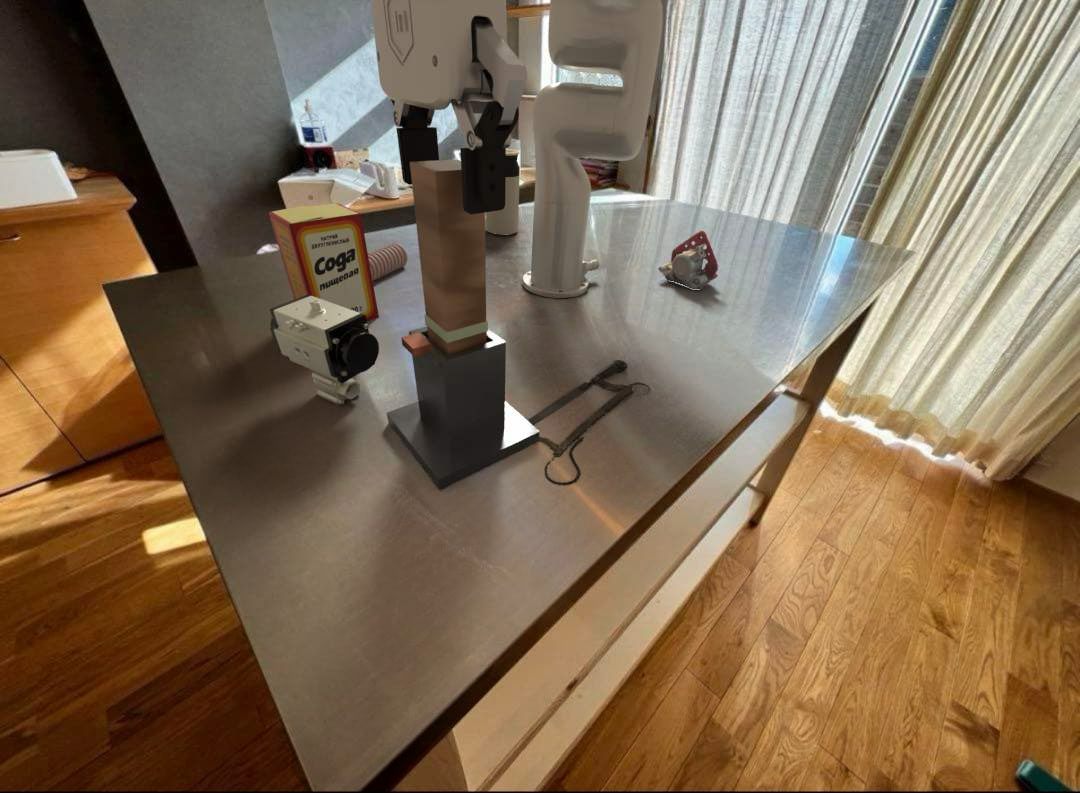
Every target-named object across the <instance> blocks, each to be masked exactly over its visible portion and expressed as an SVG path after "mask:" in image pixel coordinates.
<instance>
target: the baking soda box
mask: <svg viewBox="0 0 1080 793" xmlns="http://www.w3.org/2000/svg"><path fill="white" fill-rule="evenodd" d="M268 215H269V216H268V217H269V218H270V223H271V226H272V230H273V233H274V236H275V239H276V243H277V247H278V249H279V252H280V256H281V260H282V263H283V267H284V269H285V272H286V276H287V281H288V283H289V287H290V291H291V294H292V297H293V300H294V299H297V298H299V297H302V296H305V295H307V294H308V295H311V296H313V297H316V298H319V299H322V300H325V301H327V302H330V303H333V304H336V305H339V306H342V307H344V308H347V309H350V310H353V311H356V312H359V313H361V314H364V315H366V320H367V321H371V320H374V319H376V318H380V315H379V310H378V304H377V299H376V298H377V297H376V292H375V287H374V281H373V280H372V275H371V269H370V263H369V258H368V253H369V252H368V247H367V241H366V235H365V232H364V231H365V230H364V225H363V219H362V214H361V212H358V211H357V210H355V209H352V208H350V207H347V206H345V205H343V204H340V203H331V204H321V205H313V206H307V205H298V206H296V207H295V206H294V207H289V208H283V209H280V210H273V211H269V212H268Z"/></svg>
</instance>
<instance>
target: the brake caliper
mask: <svg viewBox="0 0 1080 793" xmlns="http://www.w3.org/2000/svg"><path fill="white" fill-rule="evenodd" d="M692 242H694V244H692ZM704 247H706V248H704ZM704 260H706V261H707V262H706V263H705V266H704V268H703V264H704ZM718 270H719V264H718V261H717V259H716V257H715V254H714V251H713V248H712V246H711V243H710V241H709V238H708V236H707V233H706V232H705V230H700V231H697V233H694V234H693V235H692V236H690V237H689V238H688V239H686V240H685V241H683V242H682V243H680V244H679V245H677V246H676V247H675V248H674V249H673V250H672V252H671V258H670V261H668V262H667V263H664V264H661V265H659V266H658V271H659V272H660V273H661V274H662V275H663V277H664V276H665V278H666V279H667V280H670V281H674V282H677V283H680V284H683V285H685V286H687V287H689V288H692V289H701V288H702V289H703V288H704V287H705V285H706V286H707V285H708V284H709V283H710V282H711V281H713V280H715V279H716V278H717V277H718V273H717V272H718ZM667 280H666V281H667ZM702 289H701V290H702Z"/></svg>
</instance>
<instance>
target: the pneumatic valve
mask: <svg viewBox="0 0 1080 793" xmlns="http://www.w3.org/2000/svg"><path fill="white" fill-rule="evenodd" d="M269 312H270V315H271V320H270V325H269V326H270V328H269V330H270V332H271V336H272V338H273V341H274V344H275V347H276V350H277V352H278V353H279V354H280V355H283V356H285V359H286V360H288V361H291V362H293V363H295V364H298V365H300V366H302V367H304V368H307V369H309V370H312V373H311V377H312V381H313V383H315V386H316V388H317V392H316V393H317V396H318V397H320V398H322V399H324V400H327V401H328V402H330V403H333V404H336V405H338V406H341V405H344V403H345V401H346V400H349V401H350V400H353V399H354V398H356V397H357V396H359V394H361V392H362V391H361V384H360V383H359V382H358V380H357V378H356V377H357V376H358V375H360V373H364V372H367V371H368V370H370V369H371V368H372V367H373V366H375V364H376V361H377V359H378V357H379V353H380V344H379V341H378V338H377V337H376V336H375V335H374V334H372V333H370V332H369V331H370V330H369V324H368V322H367V320H366V315H364V314H361V313H359V312H356V311H353V310H350V309H347V308H344V307H342V306H339V305H336V304H333V303H330V302H327V301H325V300H322V299H319V298H316V297H313V296H311V295H308V294H307V295H305V296H302V297H299V298H297V299H294V298H293V299H291V300H290V301H286V302H284V303H281V304H279V305H276V306H273V307H271V308H269Z"/></svg>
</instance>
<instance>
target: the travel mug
mask: <svg viewBox="0 0 1080 793" xmlns="http://www.w3.org/2000/svg"><path fill="white" fill-rule="evenodd" d="M519 154H520V151H518V150H516V149H511V148H506V185H505V207H504V209H502V210H499V211H492V212H485V230H486V229H487V230H486V231H487V232H488V233H489V232H491V233H490V234H492V233H496V234H511V233H515V232H516V231H519V210H520V209H519V207H520V206H519V205H520V203H519V202H520V170H521V168H520V165H519V162H518V156H519ZM515 234H516V233H515Z"/></svg>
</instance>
